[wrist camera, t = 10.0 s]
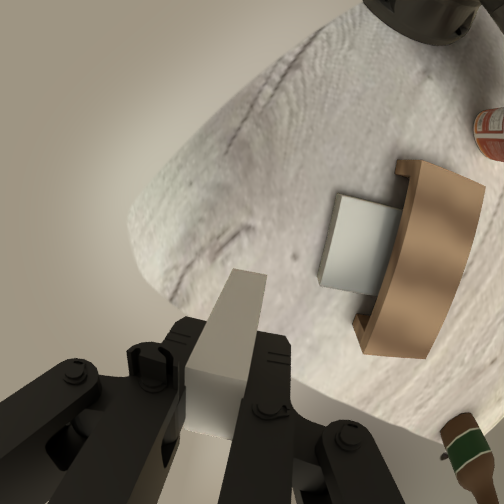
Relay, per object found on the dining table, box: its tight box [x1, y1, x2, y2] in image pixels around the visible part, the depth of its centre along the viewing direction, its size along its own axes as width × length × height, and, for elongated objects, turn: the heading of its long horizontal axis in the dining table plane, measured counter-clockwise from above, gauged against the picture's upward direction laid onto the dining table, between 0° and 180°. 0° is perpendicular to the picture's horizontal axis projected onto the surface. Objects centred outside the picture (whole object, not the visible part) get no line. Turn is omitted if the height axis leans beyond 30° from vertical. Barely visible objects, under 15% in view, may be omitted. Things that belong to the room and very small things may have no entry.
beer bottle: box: [440, 413, 499, 504], centre depth 25 cm, size 8×8×24 cm
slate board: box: [317, 193, 403, 296], centre depth 27 cm, size 9×11×3 cm
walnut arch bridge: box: [352, 160, 486, 359], centre depth 26 cm, size 19×8×6 cm, turn 170°
